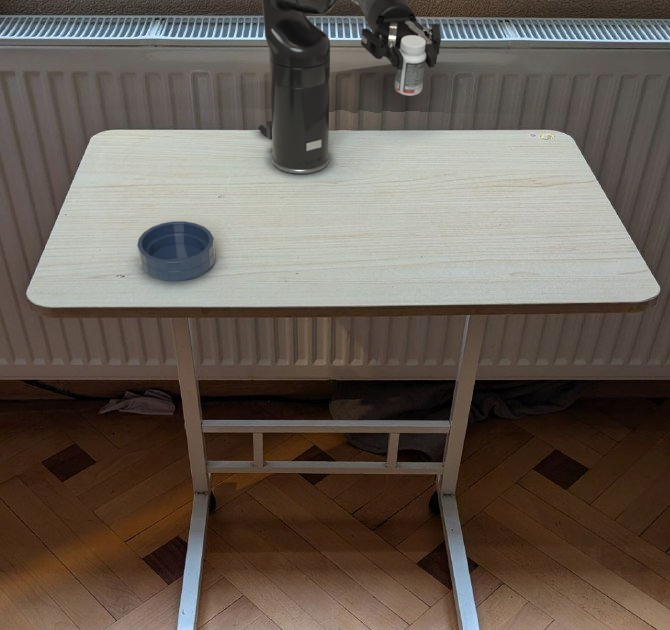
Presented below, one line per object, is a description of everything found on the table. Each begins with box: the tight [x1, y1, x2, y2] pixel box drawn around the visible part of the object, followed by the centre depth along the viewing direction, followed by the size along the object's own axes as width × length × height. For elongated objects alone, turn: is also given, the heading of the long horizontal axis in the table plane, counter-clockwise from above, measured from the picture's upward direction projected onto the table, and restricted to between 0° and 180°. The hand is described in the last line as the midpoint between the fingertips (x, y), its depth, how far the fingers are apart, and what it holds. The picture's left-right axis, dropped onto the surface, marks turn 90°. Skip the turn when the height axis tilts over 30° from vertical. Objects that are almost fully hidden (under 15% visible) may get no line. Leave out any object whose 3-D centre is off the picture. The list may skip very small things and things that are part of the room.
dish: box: [137, 220, 216, 282], centre depth 115 cm, size 10×10×4 cm
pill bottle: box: [394, 35, 427, 97], centre depth 137 cm, size 5×5×8 cm
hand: (417, 63), depth 134 cm, fingers closed on pill bottle, 4 cm apart
